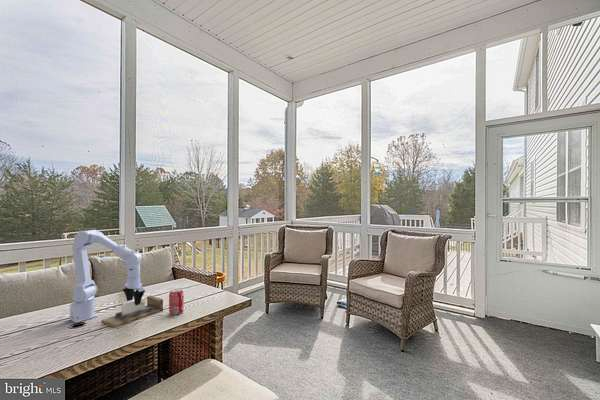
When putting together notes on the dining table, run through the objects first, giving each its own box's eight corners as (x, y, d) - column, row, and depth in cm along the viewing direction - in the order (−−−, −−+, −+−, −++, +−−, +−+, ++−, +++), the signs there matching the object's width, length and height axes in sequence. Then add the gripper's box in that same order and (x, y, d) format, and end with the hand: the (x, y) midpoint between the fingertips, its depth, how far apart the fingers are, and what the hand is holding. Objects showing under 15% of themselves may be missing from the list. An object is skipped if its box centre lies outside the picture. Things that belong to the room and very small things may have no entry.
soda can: (180, 309, 151) (180, 287, 151) (185, 313, 146) (185, 290, 146) (167, 313, 146) (167, 290, 146) (172, 316, 141) (172, 293, 141)
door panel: (125, 318, 137) (125, 304, 137) (121, 316, 139) (121, 302, 139) (146, 311, 145) (146, 298, 145) (142, 310, 147) (142, 297, 147)
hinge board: (113, 327, 129) (113, 314, 129) (101, 321, 135) (101, 309, 135) (162, 310, 149) (162, 299, 149) (150, 306, 155) (150, 295, 155)
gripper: (149, 276, 142) (149, 303, 142) (134, 272, 150) (134, 298, 149) (135, 280, 136) (134, 308, 136) (120, 275, 144) (120, 302, 143)
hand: (133, 303), depth 142 cm, fingers open, 7 cm apart
